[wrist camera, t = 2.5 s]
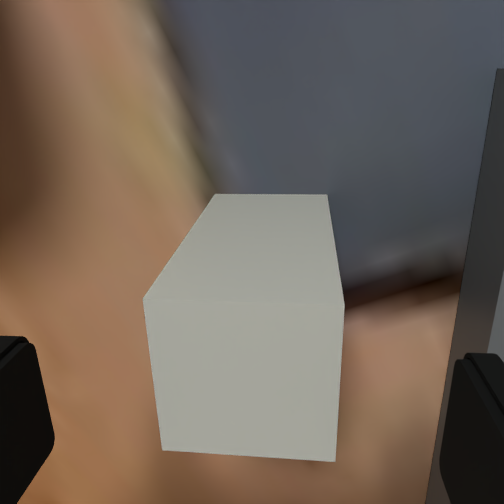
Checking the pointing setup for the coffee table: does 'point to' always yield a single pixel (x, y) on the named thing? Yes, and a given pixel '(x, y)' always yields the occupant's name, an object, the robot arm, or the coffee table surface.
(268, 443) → the plug
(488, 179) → the socket plate
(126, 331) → the coffee table surface
